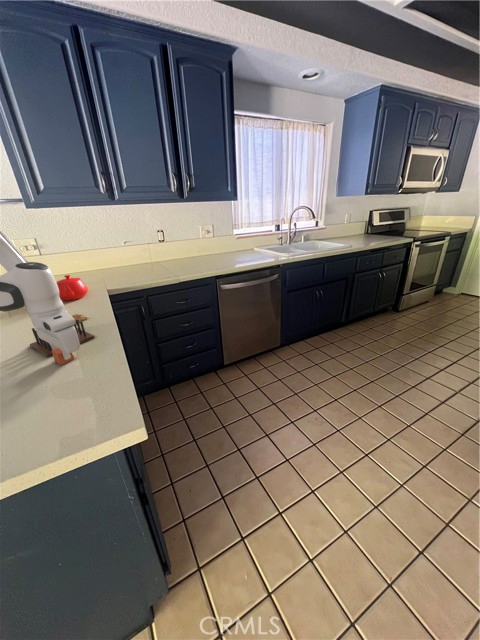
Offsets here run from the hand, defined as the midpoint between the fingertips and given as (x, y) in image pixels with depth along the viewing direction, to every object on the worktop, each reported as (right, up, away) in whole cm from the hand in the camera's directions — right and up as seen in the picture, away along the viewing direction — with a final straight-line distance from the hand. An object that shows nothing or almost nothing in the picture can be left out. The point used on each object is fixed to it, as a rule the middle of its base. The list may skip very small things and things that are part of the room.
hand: (63, 356), depth 85 cm
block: (0, -1, +1) cm, 2 cm away
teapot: (-34, +24, +59) cm, 72 cm away
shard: (-13, +11, +29) cm, 33 cm away
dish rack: (-8, +4, +12) cm, 15 cm away
